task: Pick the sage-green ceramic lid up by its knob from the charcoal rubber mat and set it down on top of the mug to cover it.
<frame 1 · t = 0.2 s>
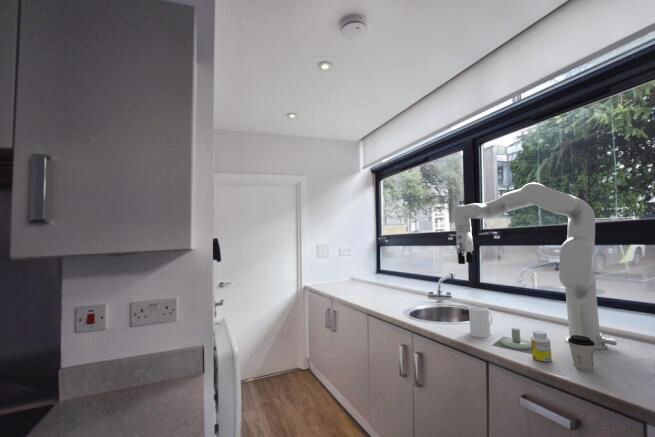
hand: (465, 263, 156), 31 cm above the worktop, fingers open, 9 cm apart
mug: (483, 335, 138), on the worktop
lid: (516, 344, 123), point 1 cm above the worktop, touching mat
supplement bottle: (542, 362, 107), on the worktop
coffee cup: (583, 369, 101), on the worktop
mat: (516, 346, 123), on the worktop
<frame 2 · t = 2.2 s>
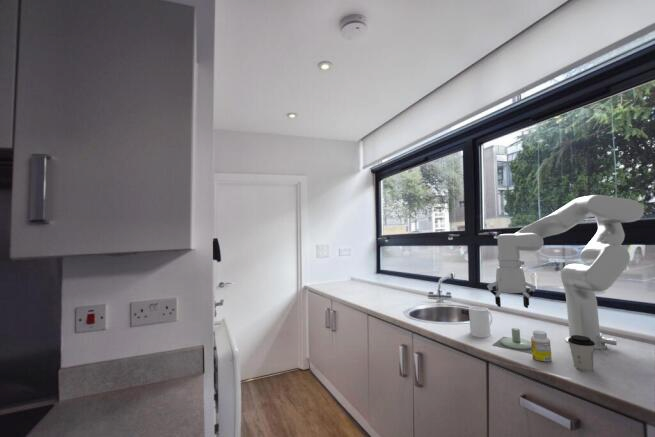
hand: (512, 306, 124), 16 cm above the worktop, fingers open, 9 cm apart
nothing on the worktop moved.
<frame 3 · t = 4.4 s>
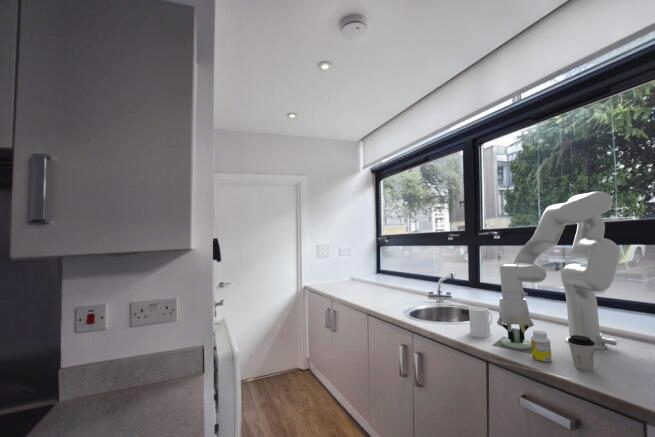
hand: (516, 341, 123), 2 cm above the worktop, fingers closed on lid, 2 cm apart
lid: (516, 344, 123), point 1 cm above the worktop, touching gripper, mat
everything else where it was.
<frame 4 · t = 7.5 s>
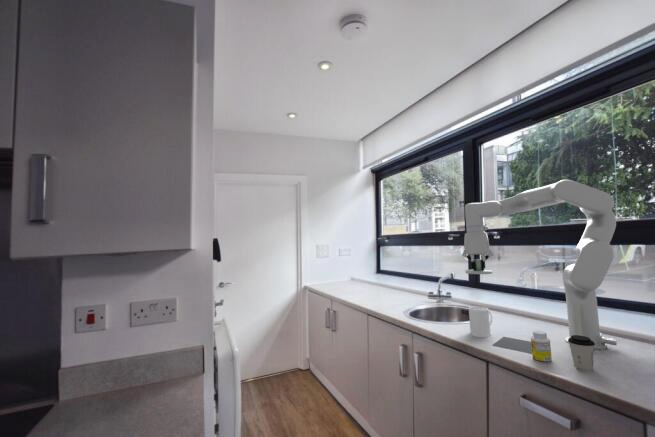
hand: (478, 269, 140), 29 cm above the worktop, fingers closed on lid, 2 cm apart
lid: (478, 272, 140), point 28 cm above the worktop, touching gripper
everything else where it was.
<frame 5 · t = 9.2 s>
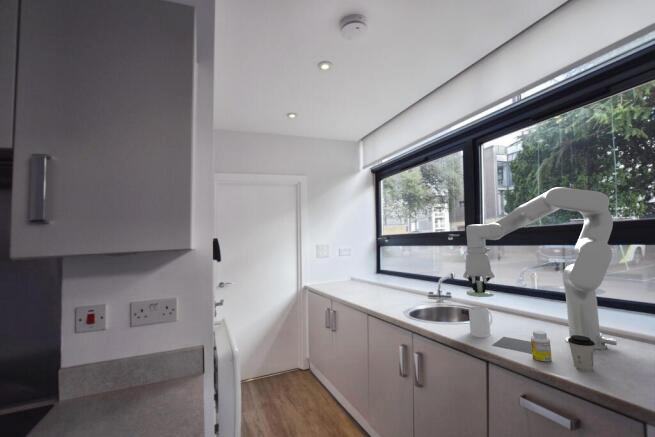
hand: (479, 291, 139), 19 cm above the worktop, fingers closed on lid, 2 cm apart
lid: (479, 294, 139), point 18 cm above the worktop, touching gripper
everything else where it was.
when the fingers open (16 cm above the worktop, at t = 10.6 s): lid drops 2 cm, resting on mug.
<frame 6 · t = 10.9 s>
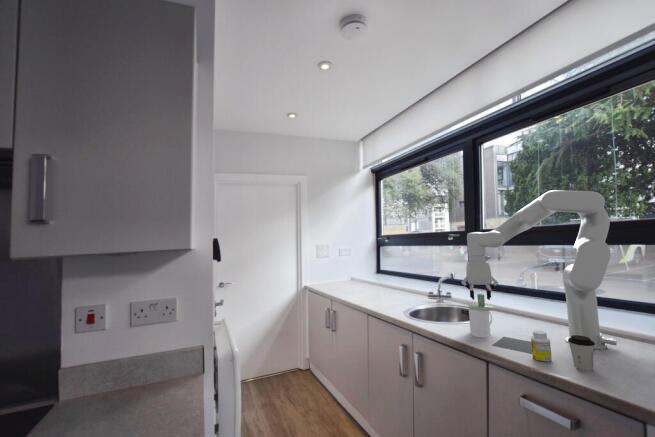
hand: (480, 298, 139), 16 cm above the worktop, fingers open, 5 cm apart
mug: (483, 335, 138), on the worktop, touching lid
lid: (481, 307, 139), point 12 cm above the worktop, touching mug
everything else where it was.
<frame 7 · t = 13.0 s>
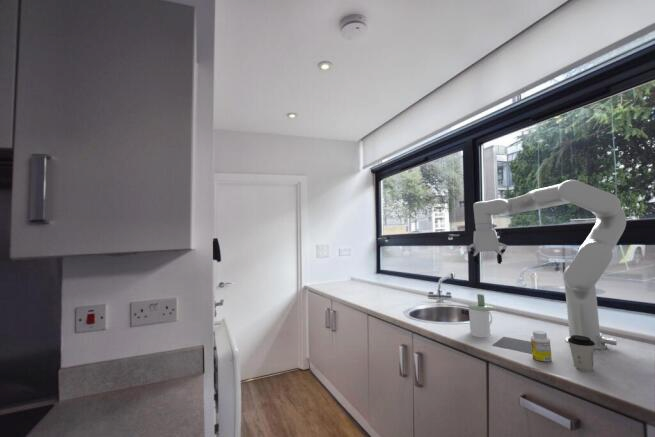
hand: (488, 264, 143), 31 cm above the worktop, fingers open, 9 cm apart
nothing on the worktop moved.
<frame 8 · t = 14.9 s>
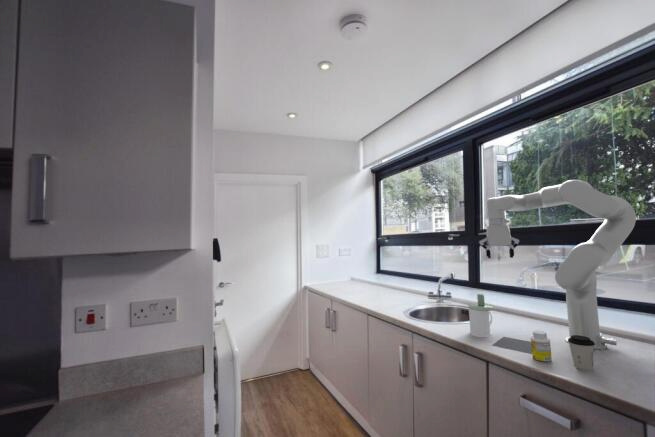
hand: (500, 257, 149), 33 cm above the worktop, fingers open, 9 cm apart
nothing on the worktop moved.
at the end: lid 0.1 cm from the mug (horizontally); lid point 12.0 cm above the worktop; lid tilted 0° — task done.
